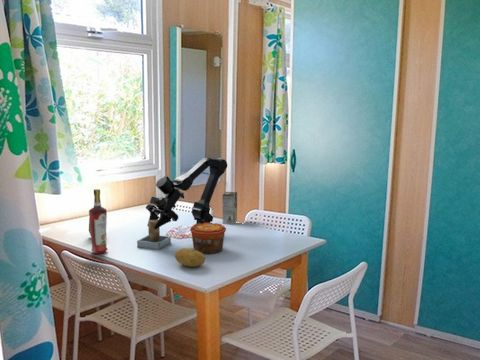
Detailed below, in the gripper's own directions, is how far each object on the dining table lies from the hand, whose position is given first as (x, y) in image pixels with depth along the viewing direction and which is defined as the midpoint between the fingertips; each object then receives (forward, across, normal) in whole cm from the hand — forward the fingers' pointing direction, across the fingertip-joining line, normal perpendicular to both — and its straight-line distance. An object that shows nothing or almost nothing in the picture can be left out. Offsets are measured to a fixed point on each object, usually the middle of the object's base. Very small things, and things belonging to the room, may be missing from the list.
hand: (151, 227), depth 222 cm
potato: (+10, +33, +3) cm, 35 cm away
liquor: (+22, -7, -10) cm, 25 cm away
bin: (+5, 0, +7) cm, 9 cm away
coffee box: (-33, -7, +46) cm, 57 cm away
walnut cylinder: (+4, 0, +6) cm, 7 cm away
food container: (-4, +22, +17) cm, 28 cm away
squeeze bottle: (+14, -30, -2) cm, 33 cm away
